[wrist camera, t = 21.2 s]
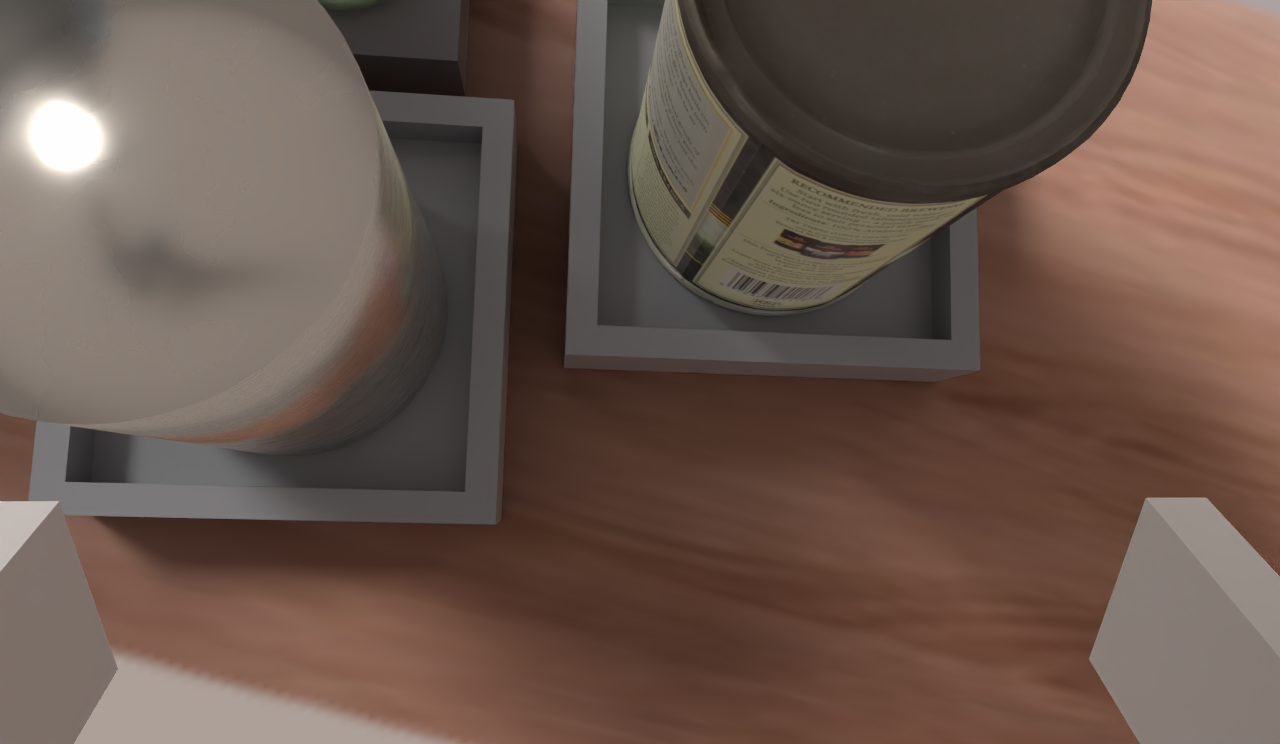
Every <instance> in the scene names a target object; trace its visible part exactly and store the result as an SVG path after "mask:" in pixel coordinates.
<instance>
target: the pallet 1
mask: <svg viewBox="0 0 1280 744" xmlns="http://www.w3.org/2000/svg"><path fill="white" fill-rule="evenodd" d="M369 92H370V94H371V96H372V99H373V101H374V104H375V106H376V108H377V111H378V113H379V115H380V118H381V120H382V122H383V125H384V127H385V129H386V132H387V134H388V136H389V139H390V141H391V144H392V146H393V148H394V151H395V153H396V155H397V158H398V160H399V162H400V165H401V167H402V169H403V172H404V174H405V176H406V179H407V181H408V183H409V186H410V188H411V191H412V193H413V195H414V198H415V200H416V202H417V205H418V207H419V209H420V212H421V214H422V216H423V219H424V221H425V223H426V226H427V228H428V231H429V233H430V235H431V238H432V240H433V242H434V245H435V247H436V249H437V252H438V255H439V258H440V261H441V263H442V266H443V270H444V275H445V280H446V285H447V296H448V314H447V326H446V331H445V335H444V340H443V344H442V347H441V350H440V353H439V356H438V358H437V361H436V363H435V365H434V367H433V369H432V371H431V373H430V375H429V377H428V379H427V380H426V382H425V383H424V385H423V386H422V388H421V389H420V391H419V392H418V393H417V395H416V396H415V397H414V398H413V399H412V401H411V402H410V403H409V404H408V405H407V406H406V407H405V408H404V409H403V410H402V411H401V412H400V413H399V414H398V415H397V416H395V417H394V418H393V419H392V420H391V421H390V422H388V423H387V424H386V425H384V426H383V427H381V428H380V429H378V430H377V431H375V432H374V433H372V434H370V435H368V436H366V437H364V438H362V439H360V440H358V441H356V442H354V443H352V444H349V445H346V446H343V447H341V448H338V449H335V450H331V451H326V452H322V453H317V454H311V455H299V456H280V455H267V454H260V453H253V452H247V451H240V450H233V449H226V448H219V447H212V446H205V445H198V444H191V443H184V442H177V441H170V440H163V439H157V438H150V437H143V436H136V435H129V434H122V433H115V432H108V431H101V430H94V429H87V428H80V427H73V426H67V425H60V424H53V423H46V422H41V421H36V431H35V440H34V450H33V459H32V469H31V478H30V488H29V497H28V501H59V502H60V505H61V508H62V510H63V513H64V515H76V516H122V517H167V518H213V519H259V520H304V521H350V522H396V523H441V524H487V525H496V524H497V523H499V522H500V521H501V518H502V495H503V472H504V449H505V426H506V403H507V380H508V357H509V334H510V311H511V288H512V264H513V241H514V218H515V195H516V172H517V149H518V134H517V124H516V113H515V102H514V100H511V99H495V98H479V97H464V96H448V95H432V94H416V93H400V92H385V91H369Z"/></svg>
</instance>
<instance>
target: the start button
mask: <svg viewBox="0 0 1280 744" xmlns="http://www.w3.org/2000/svg"><path fill="white" fill-rule="evenodd" d="M317 1H318V2H319V3H320V4H321V5H322V6H323V8H324V9H325V10H326V12H327V13H328V14H329V16H330V17H331V19H332V20H333V22H334V23H335V25H336V26H337V27H338V29H339V30H340V32H341V33H342V35H343V36H344V38H345V40H346V42H347V44H348V46H349V48H350V50H351V52H352V54H353V56H354V58H355V60H356V62H357V64H358V66H359V68H360V71H361V73H362V75H363V78H364V80H365V82H366V85H367V87H368V89H369V91H385V92H400V93H416V94H432V95H448V96H464V97H465V95H466V76H467V56H468V36H469V17H470V0H317Z"/></svg>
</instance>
